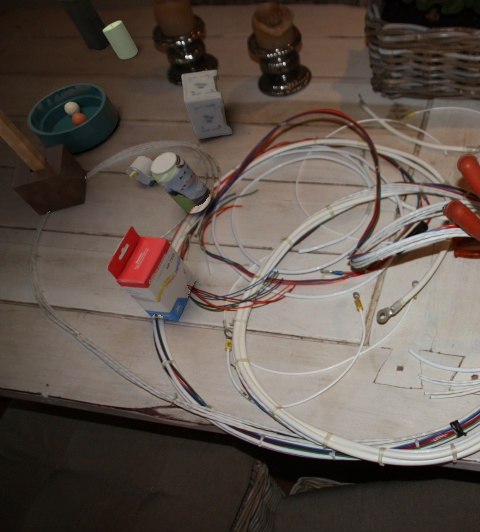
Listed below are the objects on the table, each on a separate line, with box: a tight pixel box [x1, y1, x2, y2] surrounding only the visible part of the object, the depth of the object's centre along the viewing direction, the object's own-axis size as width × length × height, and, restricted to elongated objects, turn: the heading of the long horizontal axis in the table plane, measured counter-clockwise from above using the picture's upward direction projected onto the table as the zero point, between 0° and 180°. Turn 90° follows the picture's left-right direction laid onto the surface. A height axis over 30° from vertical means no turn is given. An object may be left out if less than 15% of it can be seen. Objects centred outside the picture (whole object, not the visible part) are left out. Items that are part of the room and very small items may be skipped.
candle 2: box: [103, 20, 139, 60], centre depth 131 cm, size 5×5×8 cm
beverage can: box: [151, 151, 211, 214], centre depth 98 cm, size 6×7×12 cm
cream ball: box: [65, 102, 80, 116], centre depth 120 cm, size 3×3×3 cm
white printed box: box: [181, 69, 233, 140], centre depth 112 cm, size 10×8×10 cm
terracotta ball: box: [72, 113, 88, 126], centre depth 118 cm, size 3×3×3 cm
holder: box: [11, 144, 87, 216], centre depth 105 cm, size 9×9×8 cm
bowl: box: [26, 82, 119, 154], centre depth 117 cm, size 16×16×6 cm
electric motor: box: [124, 155, 156, 187], centre depth 106 cm, size 7×5×5 cm
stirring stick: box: [0, 108, 46, 171], centre depth 97 cm, size 2×2×28 cm
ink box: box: [106, 225, 197, 321], centre depth 86 cm, size 8×5×15 cm, turn 170°
